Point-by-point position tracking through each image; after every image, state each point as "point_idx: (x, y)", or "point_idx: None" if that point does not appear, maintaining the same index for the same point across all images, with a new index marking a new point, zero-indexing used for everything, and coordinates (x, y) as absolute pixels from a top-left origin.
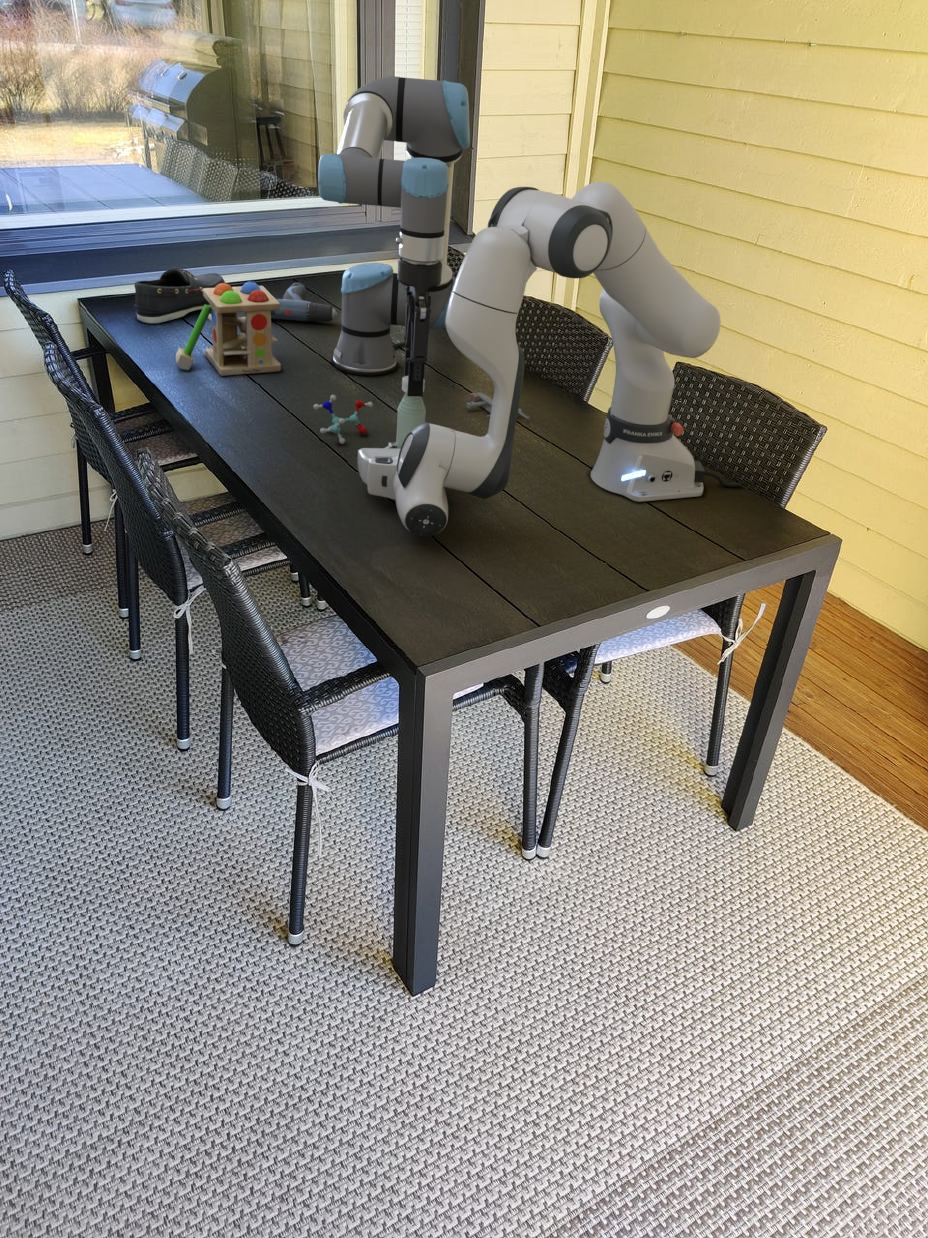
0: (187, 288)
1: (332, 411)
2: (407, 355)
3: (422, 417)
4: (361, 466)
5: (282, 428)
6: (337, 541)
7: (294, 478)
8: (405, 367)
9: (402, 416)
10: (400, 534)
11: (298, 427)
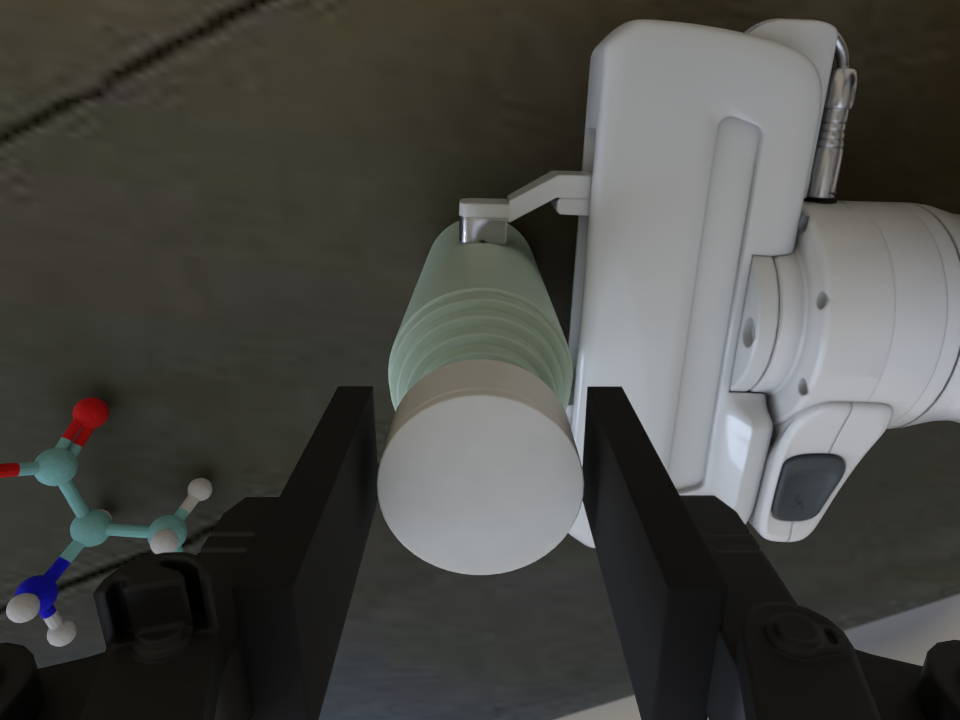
0: None
1: (60, 565)
2: (327, 678)
3: (549, 311)
4: None
5: (105, 650)
6: (907, 534)
7: (483, 626)
8: (351, 588)
9: None
10: None
11: (84, 606)
